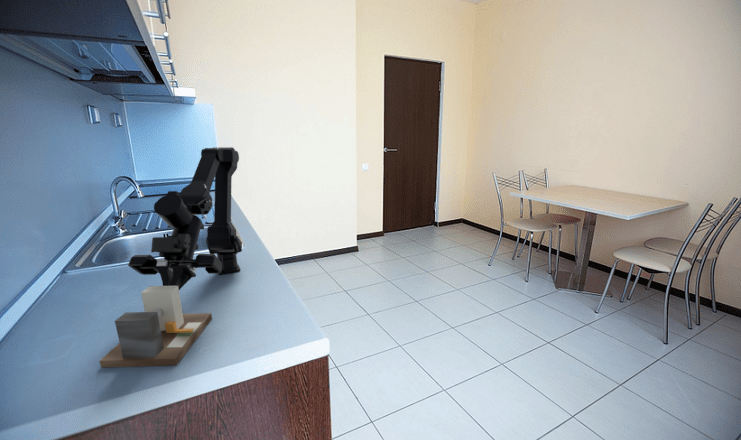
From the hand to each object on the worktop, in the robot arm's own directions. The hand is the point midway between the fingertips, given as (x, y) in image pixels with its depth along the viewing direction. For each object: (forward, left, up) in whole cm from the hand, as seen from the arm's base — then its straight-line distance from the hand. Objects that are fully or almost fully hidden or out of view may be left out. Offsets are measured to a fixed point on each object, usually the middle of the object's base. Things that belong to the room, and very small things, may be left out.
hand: (167, 300), depth 74 cm
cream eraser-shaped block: (+3, -2, -5) cm, 6 cm away
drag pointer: (+5, +2, -5) cm, 8 cm away
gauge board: (+4, -2, -7) cm, 9 cm away
